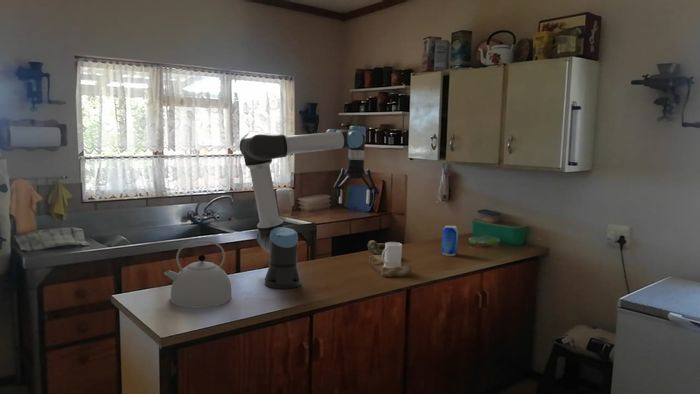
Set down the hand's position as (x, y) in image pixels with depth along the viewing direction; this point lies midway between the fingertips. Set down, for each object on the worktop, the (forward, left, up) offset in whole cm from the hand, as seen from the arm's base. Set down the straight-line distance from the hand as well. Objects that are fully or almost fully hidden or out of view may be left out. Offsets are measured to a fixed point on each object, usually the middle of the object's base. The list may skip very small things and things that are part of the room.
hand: (354, 203), depth 243 cm
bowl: (+21, +17, -32) cm, 42 cm away
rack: (+18, -5, -32) cm, 37 cm away
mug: (+17, -7, -31) cm, 36 cm away
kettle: (-70, -36, -32) cm, 85 cm away
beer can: (+62, +21, -32) cm, 73 cm away
